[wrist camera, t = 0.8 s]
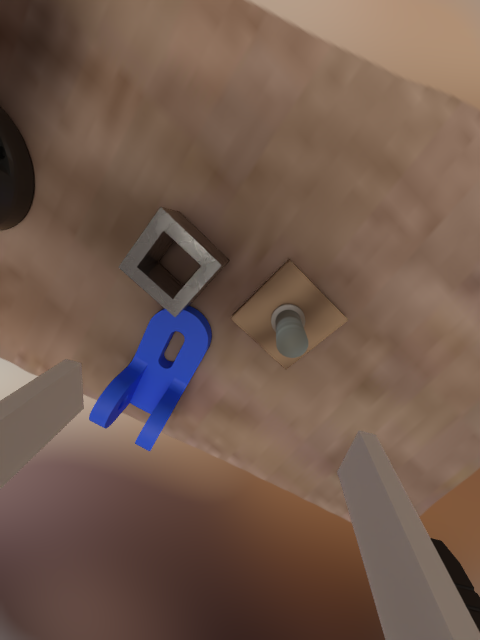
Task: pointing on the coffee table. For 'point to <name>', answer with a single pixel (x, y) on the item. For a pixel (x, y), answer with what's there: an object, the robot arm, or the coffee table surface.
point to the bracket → (156, 373)
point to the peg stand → (288, 316)
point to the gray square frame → (152, 247)
